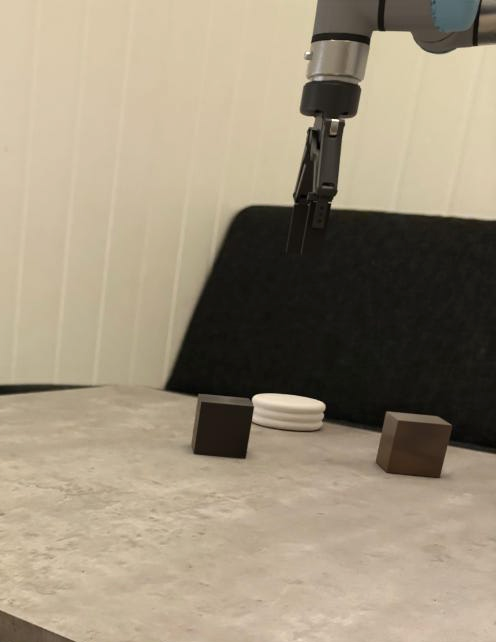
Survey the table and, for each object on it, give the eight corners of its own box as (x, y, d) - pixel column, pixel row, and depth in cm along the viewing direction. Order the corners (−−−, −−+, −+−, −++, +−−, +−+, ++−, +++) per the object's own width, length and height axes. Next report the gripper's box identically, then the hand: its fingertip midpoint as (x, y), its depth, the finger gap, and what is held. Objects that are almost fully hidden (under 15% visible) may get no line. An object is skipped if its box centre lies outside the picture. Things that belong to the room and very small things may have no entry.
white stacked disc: (234, 419, 141) (238, 394, 140) (276, 415, 147) (281, 391, 146) (293, 433, 134) (298, 407, 133) (335, 429, 141) (340, 403, 139)
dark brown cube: (240, 448, 122) (249, 398, 120) (245, 458, 117) (254, 406, 114) (191, 443, 123) (198, 393, 120) (193, 453, 117) (201, 401, 115)
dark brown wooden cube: (426, 466, 121) (438, 416, 118) (440, 478, 115) (452, 425, 113) (375, 461, 121) (386, 411, 119) (386, 472, 115) (398, 420, 113)
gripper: (290, 92, 145) (264, 250, 153) (321, 66, 122) (289, 253, 130) (343, 96, 145) (314, 254, 153) (384, 71, 122) (348, 258, 130)
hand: (302, 254), depth 141 cm, fingers open, 13 cm apart
